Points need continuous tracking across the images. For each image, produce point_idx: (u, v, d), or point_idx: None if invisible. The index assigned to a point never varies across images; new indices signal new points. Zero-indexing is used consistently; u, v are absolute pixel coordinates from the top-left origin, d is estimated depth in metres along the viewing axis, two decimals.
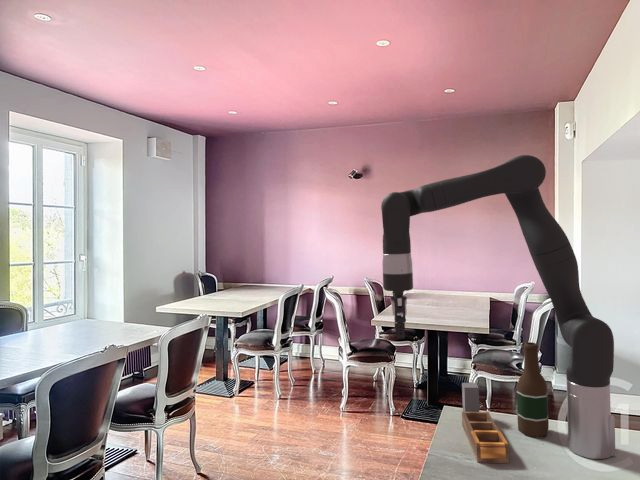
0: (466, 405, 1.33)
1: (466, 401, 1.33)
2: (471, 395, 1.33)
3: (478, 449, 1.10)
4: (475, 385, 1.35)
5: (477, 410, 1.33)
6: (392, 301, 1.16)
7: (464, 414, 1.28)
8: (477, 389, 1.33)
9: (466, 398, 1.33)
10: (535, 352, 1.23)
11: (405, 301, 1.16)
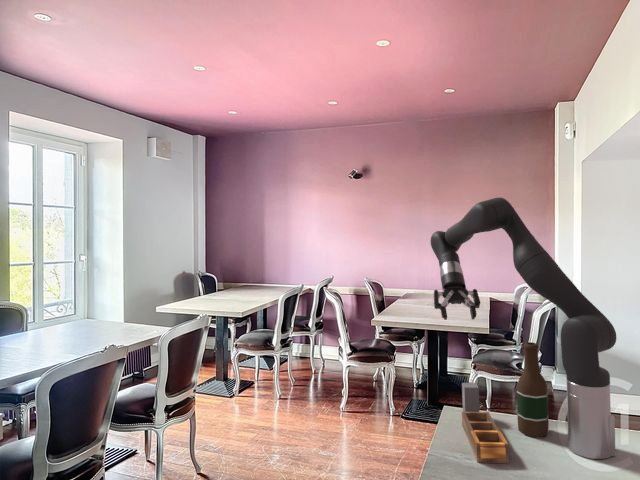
0: (466, 405, 1.33)
1: (466, 401, 1.33)
2: (471, 395, 1.33)
3: (478, 449, 1.10)
4: (475, 385, 1.35)
5: (477, 410, 1.33)
6: None
7: (464, 414, 1.28)
8: (477, 389, 1.33)
9: (466, 398, 1.33)
10: (535, 352, 1.23)
11: (449, 292, 1.51)
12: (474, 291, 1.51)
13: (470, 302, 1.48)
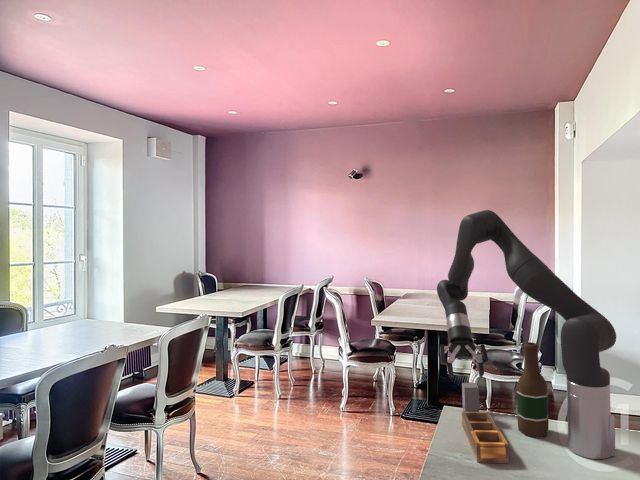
0: (466, 405, 1.33)
1: (466, 401, 1.33)
2: (471, 395, 1.33)
3: (478, 449, 1.10)
4: (475, 385, 1.35)
5: (477, 410, 1.33)
6: None
7: (464, 414, 1.28)
8: (477, 389, 1.33)
9: (466, 398, 1.33)
10: (535, 352, 1.23)
11: (455, 348, 1.46)
12: (482, 346, 1.46)
13: (477, 359, 1.43)
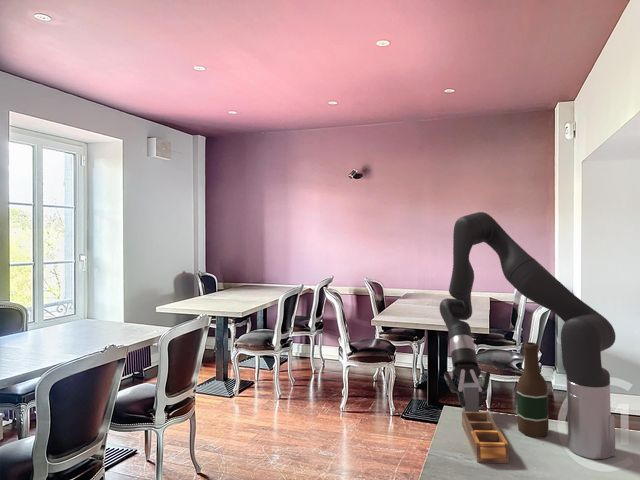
0: (466, 405, 1.34)
1: (466, 401, 1.33)
2: (470, 395, 1.33)
3: (478, 449, 1.10)
4: (475, 385, 1.35)
5: (477, 410, 1.33)
6: None
7: (464, 414, 1.28)
8: (477, 389, 1.33)
9: (466, 398, 1.33)
10: (535, 352, 1.23)
11: (460, 373, 1.39)
12: (487, 374, 1.38)
13: None
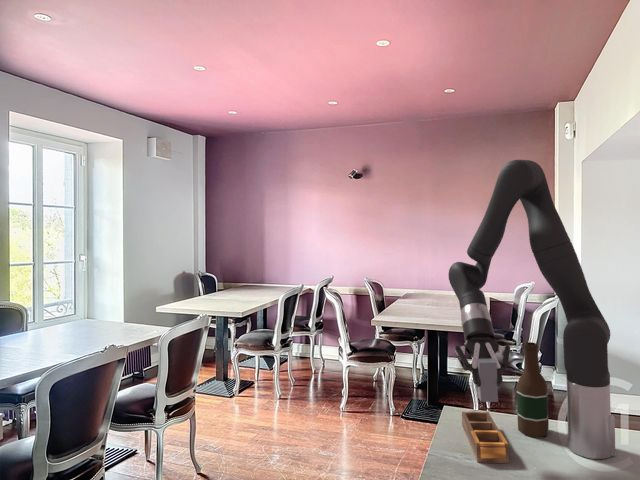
0: (481, 384, 1.11)
1: (481, 379, 1.11)
2: (487, 372, 1.11)
3: (478, 449, 1.10)
4: (492, 360, 1.12)
5: (495, 390, 1.11)
6: None
7: (464, 414, 1.28)
8: (495, 365, 1.11)
9: (481, 376, 1.11)
10: (535, 352, 1.23)
11: (474, 347, 1.16)
12: (506, 348, 1.16)
13: None
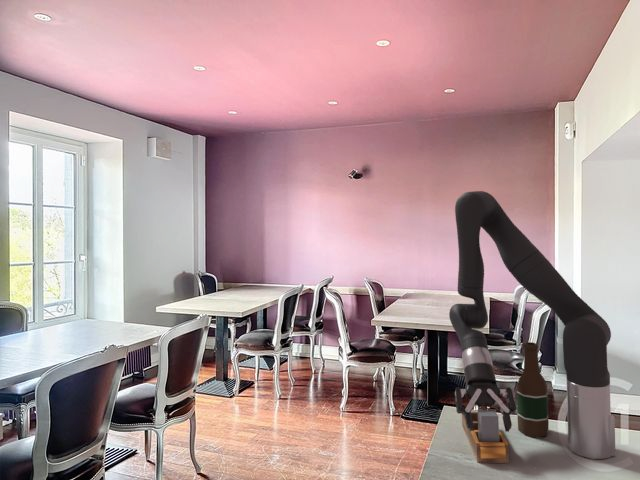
0: (483, 437, 1.11)
1: (483, 432, 1.11)
2: (489, 425, 1.11)
3: (478, 449, 1.10)
4: (494, 413, 1.12)
5: None
6: None
7: None
8: (496, 418, 1.11)
9: (483, 429, 1.11)
10: (535, 352, 1.23)
11: (475, 392, 1.17)
12: (508, 391, 1.16)
13: (503, 407, 1.14)
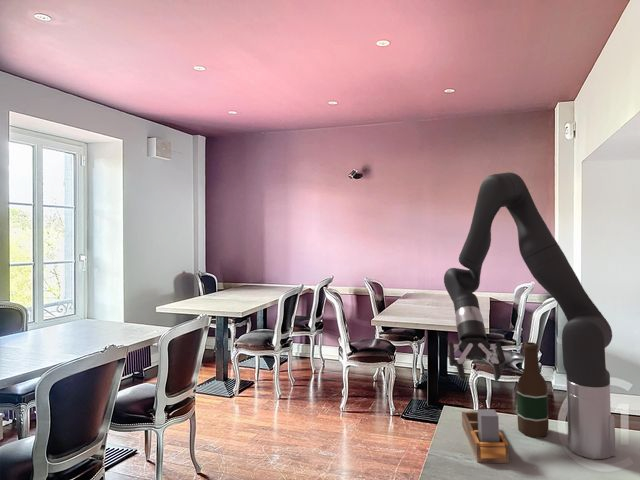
0: (483, 437, 1.11)
1: (483, 432, 1.11)
2: (489, 425, 1.11)
3: (478, 449, 1.10)
4: (494, 413, 1.12)
5: None
6: None
7: (464, 414, 1.28)
8: (496, 418, 1.11)
9: (483, 429, 1.11)
10: (535, 352, 1.23)
11: (467, 346, 1.26)
12: (497, 345, 1.25)
13: (493, 359, 1.23)
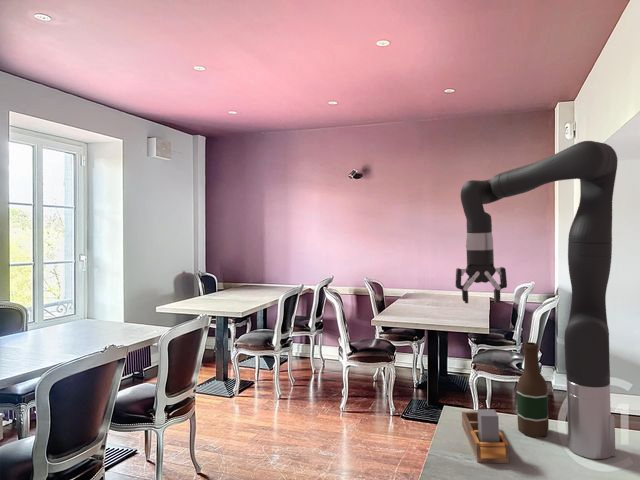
0: (483, 437, 1.11)
1: (483, 432, 1.11)
2: (489, 425, 1.11)
3: (478, 449, 1.10)
4: (494, 413, 1.12)
5: None
6: None
7: (464, 414, 1.28)
8: (496, 418, 1.11)
9: (483, 429, 1.11)
10: (535, 352, 1.23)
11: (474, 274, 1.35)
12: (502, 271, 1.35)
13: (496, 285, 1.35)
